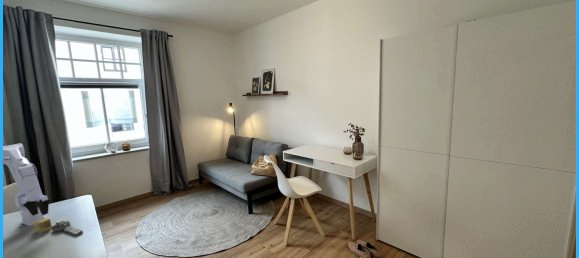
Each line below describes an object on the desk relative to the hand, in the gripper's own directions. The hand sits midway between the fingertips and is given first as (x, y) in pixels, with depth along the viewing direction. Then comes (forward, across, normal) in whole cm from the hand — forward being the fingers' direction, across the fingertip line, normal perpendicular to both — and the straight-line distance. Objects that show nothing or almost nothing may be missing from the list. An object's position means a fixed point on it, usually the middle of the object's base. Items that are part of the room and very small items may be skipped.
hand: (40, 214), depth 130 cm
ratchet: (+11, +12, +2) cm, 16 cm away
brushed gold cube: (+9, -2, 0) cm, 9 cm away
